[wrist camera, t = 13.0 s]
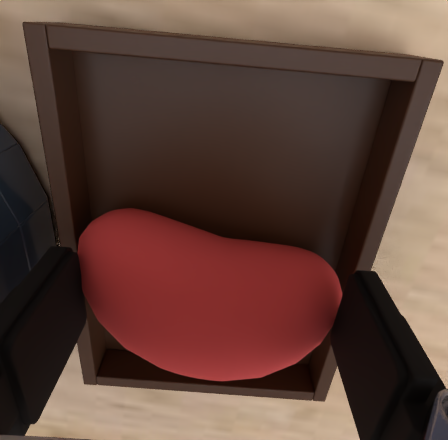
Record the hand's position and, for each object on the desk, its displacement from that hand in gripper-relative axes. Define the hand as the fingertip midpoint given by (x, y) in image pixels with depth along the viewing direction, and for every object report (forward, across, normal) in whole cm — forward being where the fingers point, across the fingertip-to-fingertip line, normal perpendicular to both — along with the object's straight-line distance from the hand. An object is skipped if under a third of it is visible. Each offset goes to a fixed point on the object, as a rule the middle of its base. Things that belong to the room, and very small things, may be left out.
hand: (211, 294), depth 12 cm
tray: (+4, 0, 0) cm, 4 cm away
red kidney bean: (+3, 0, +1) cm, 3 cm away
